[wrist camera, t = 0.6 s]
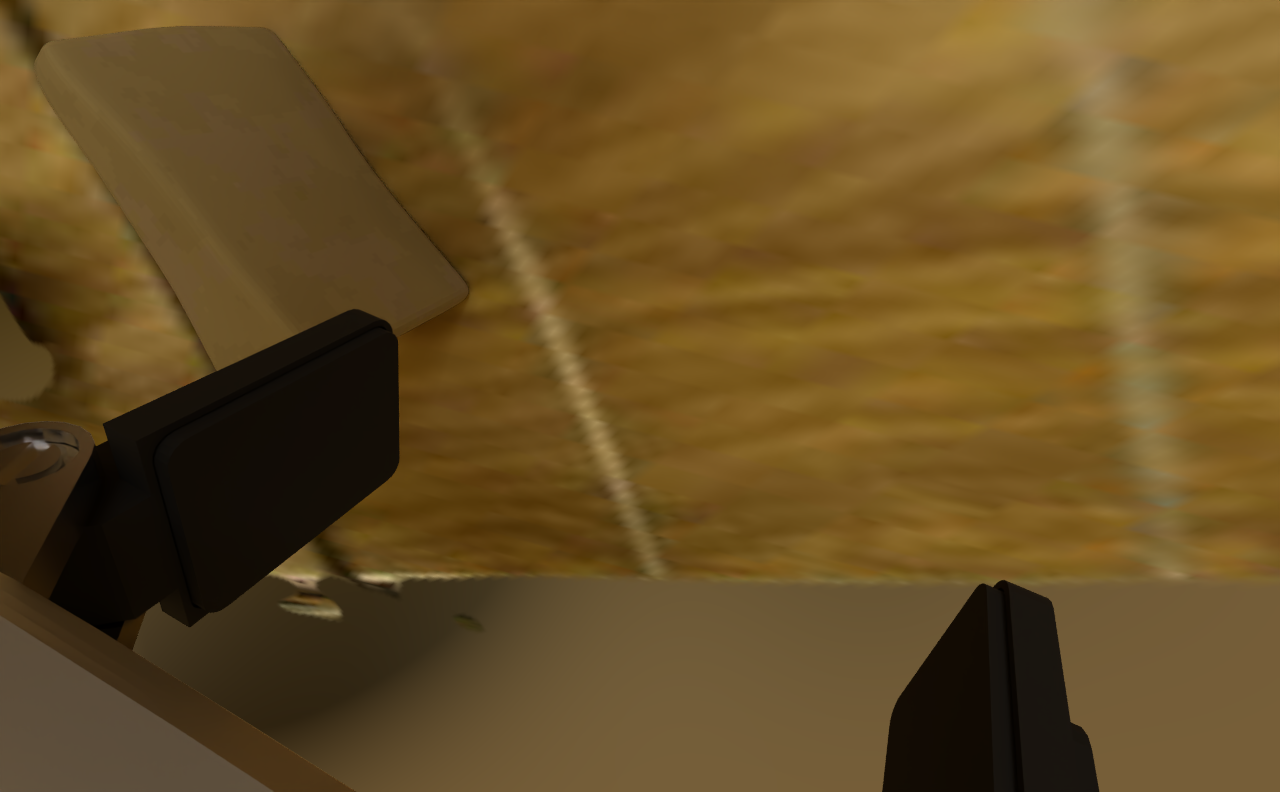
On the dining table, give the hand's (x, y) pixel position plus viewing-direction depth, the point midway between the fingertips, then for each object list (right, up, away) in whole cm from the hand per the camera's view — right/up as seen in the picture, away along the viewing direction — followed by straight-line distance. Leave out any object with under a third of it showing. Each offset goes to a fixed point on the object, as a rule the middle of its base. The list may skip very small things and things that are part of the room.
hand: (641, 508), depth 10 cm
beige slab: (-21, +17, +39) cm, 47 cm away
